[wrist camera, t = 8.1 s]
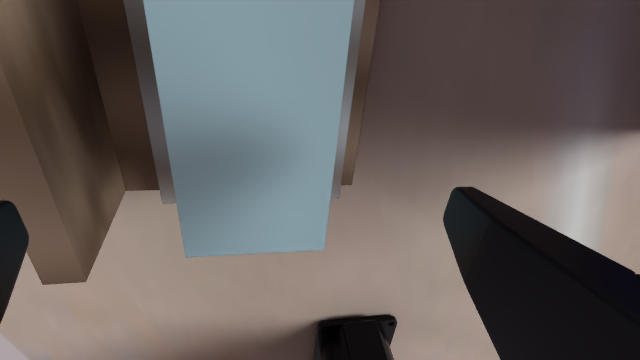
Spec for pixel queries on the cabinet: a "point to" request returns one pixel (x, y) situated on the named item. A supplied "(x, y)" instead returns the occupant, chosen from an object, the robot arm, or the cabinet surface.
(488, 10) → the cabinet surface
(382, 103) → the cabinet surface
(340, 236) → the cabinet surface
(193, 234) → the light blue block
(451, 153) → the cabinet surface
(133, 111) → the cleat stand
